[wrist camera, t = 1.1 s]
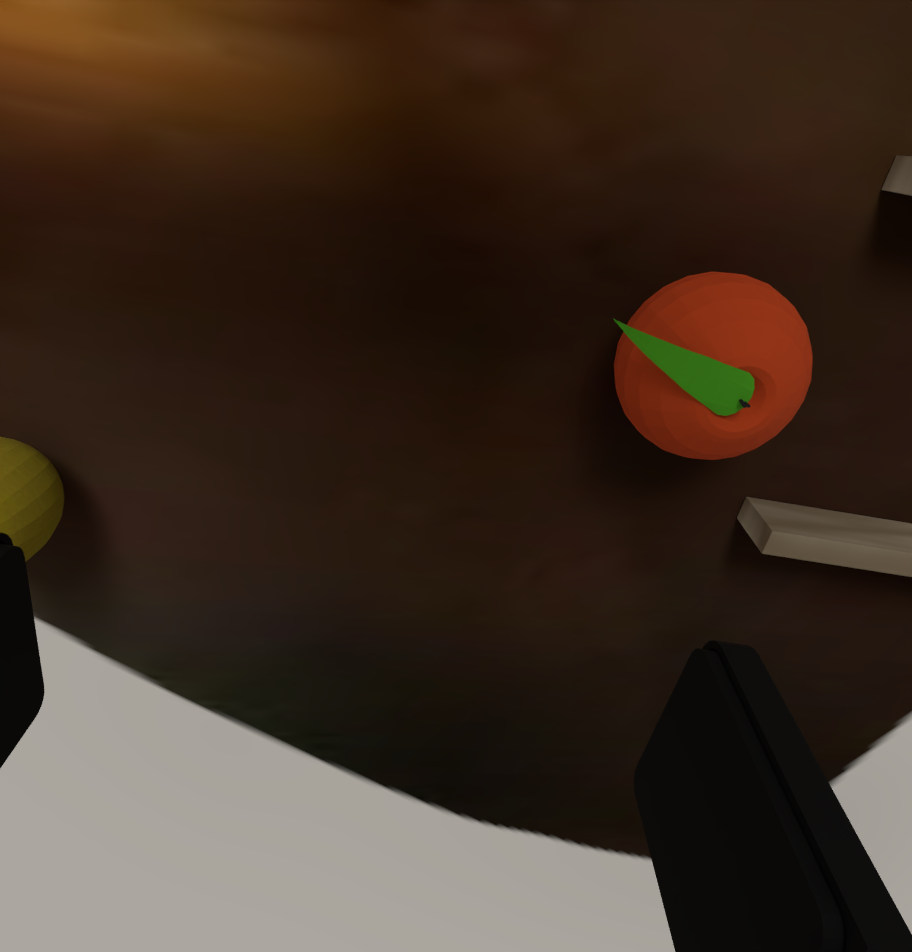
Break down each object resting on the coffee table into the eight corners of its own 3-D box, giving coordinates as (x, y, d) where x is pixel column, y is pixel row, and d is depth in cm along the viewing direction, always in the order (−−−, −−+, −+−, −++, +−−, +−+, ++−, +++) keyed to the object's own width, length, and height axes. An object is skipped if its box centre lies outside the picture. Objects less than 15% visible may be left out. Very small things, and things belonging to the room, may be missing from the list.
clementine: (546, 364, 29) (571, 432, 22) (638, 210, 26) (696, 238, 19) (698, 441, 30) (760, 525, 24) (800, 305, 27) (902, 359, 21)
